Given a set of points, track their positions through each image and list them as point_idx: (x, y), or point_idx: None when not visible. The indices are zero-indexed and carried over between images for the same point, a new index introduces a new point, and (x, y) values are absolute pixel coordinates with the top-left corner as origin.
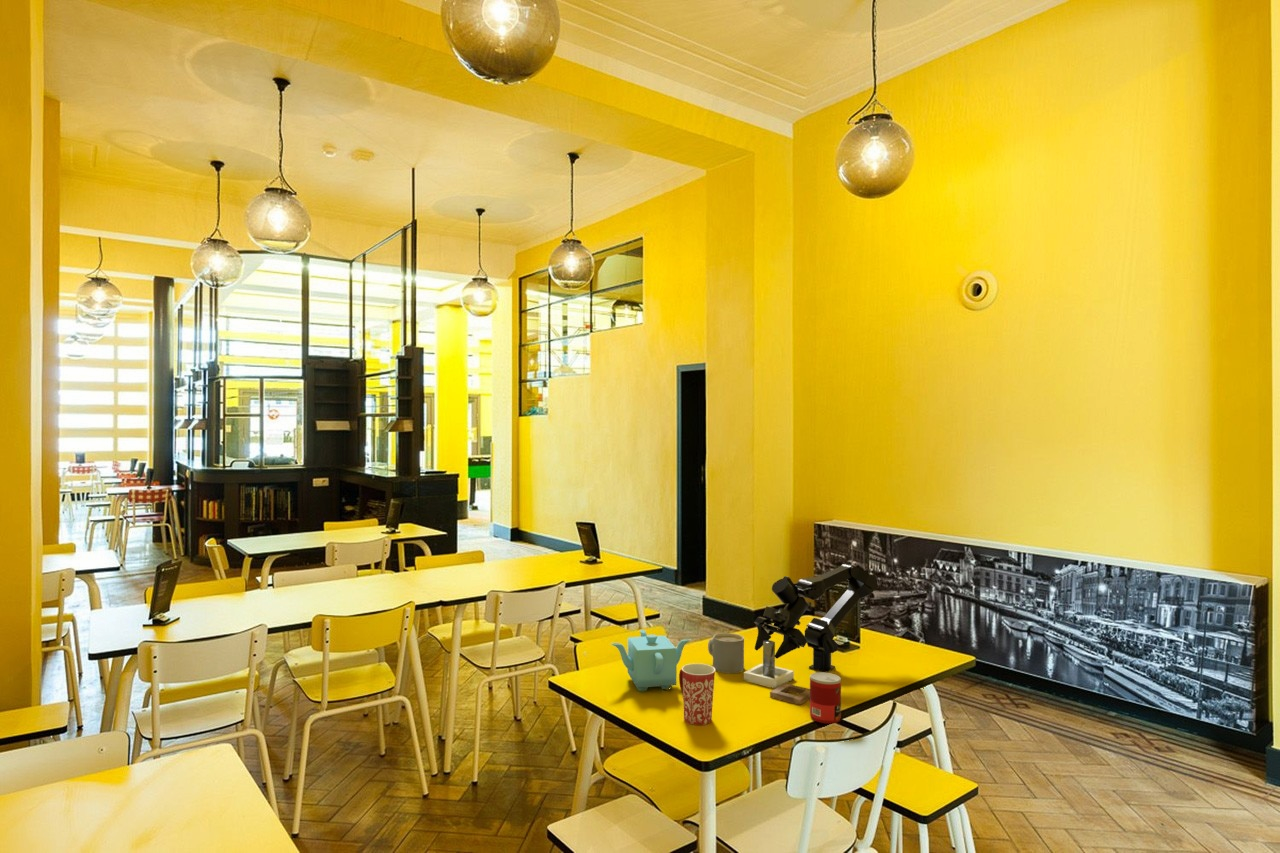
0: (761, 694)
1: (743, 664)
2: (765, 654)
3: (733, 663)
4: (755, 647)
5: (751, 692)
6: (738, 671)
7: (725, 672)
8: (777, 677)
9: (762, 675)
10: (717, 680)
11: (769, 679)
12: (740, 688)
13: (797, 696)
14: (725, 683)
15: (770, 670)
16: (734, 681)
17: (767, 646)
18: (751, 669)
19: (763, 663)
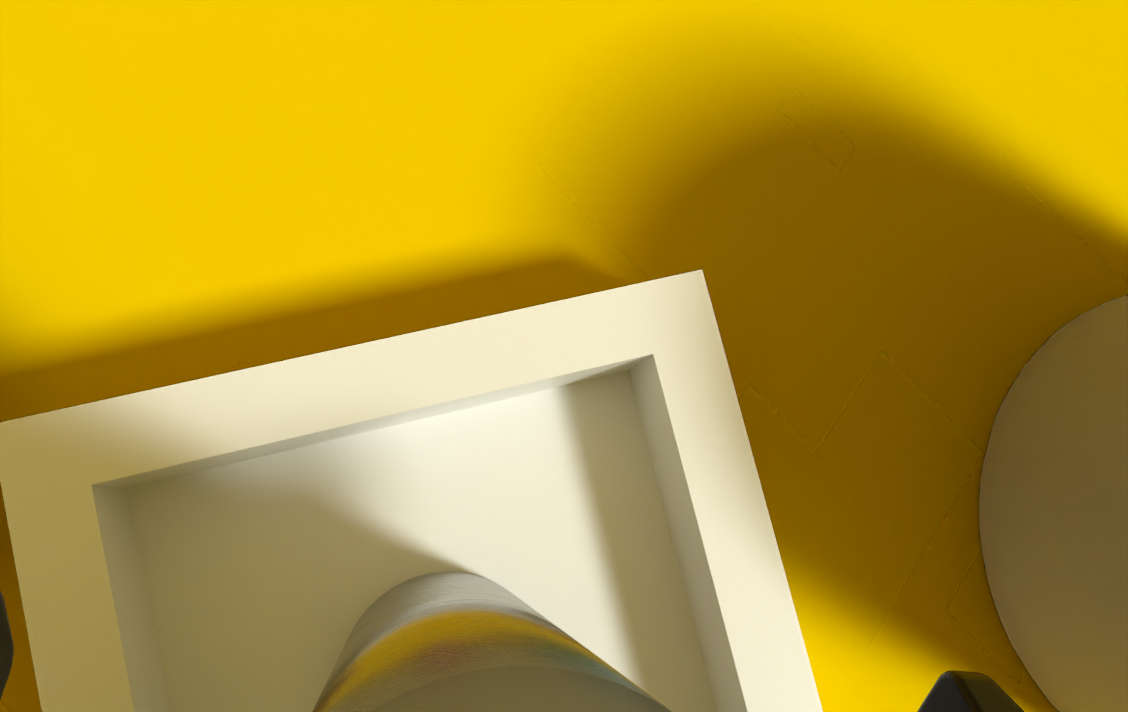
0: (57, 59)
1: (1087, 684)
2: (455, 612)
3: (1097, 402)
4: (976, 694)
5: (222, 9)
6: (988, 512)
7: (1064, 326)
8: (94, 576)
9: None
10: (882, 11)
11: (161, 391)
12: (449, 13)
13: None
14: (729, 5)
15: (346, 645)
16: (717, 166)
17: (386, 681)
18: (738, 506)
19: (518, 601)
